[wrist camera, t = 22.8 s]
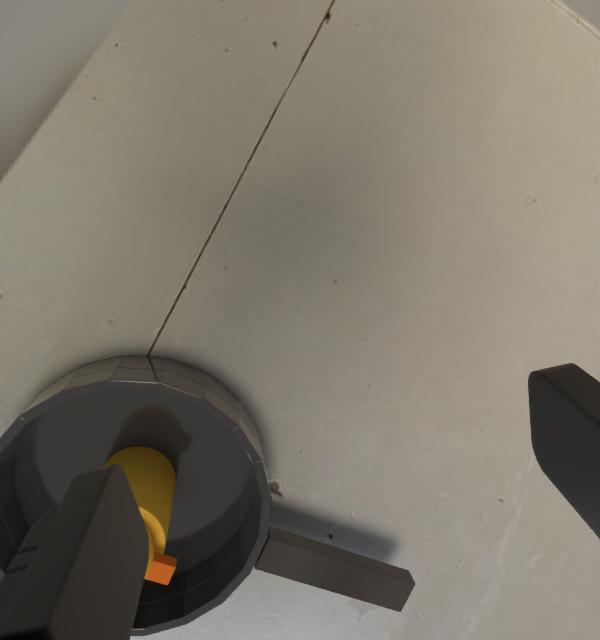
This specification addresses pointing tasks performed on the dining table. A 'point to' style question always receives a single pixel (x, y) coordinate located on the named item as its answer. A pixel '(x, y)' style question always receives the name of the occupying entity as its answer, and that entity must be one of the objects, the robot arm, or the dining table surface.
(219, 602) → the pan
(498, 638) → the dining table surface
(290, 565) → the pan handle
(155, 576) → the yellow duck figurine
